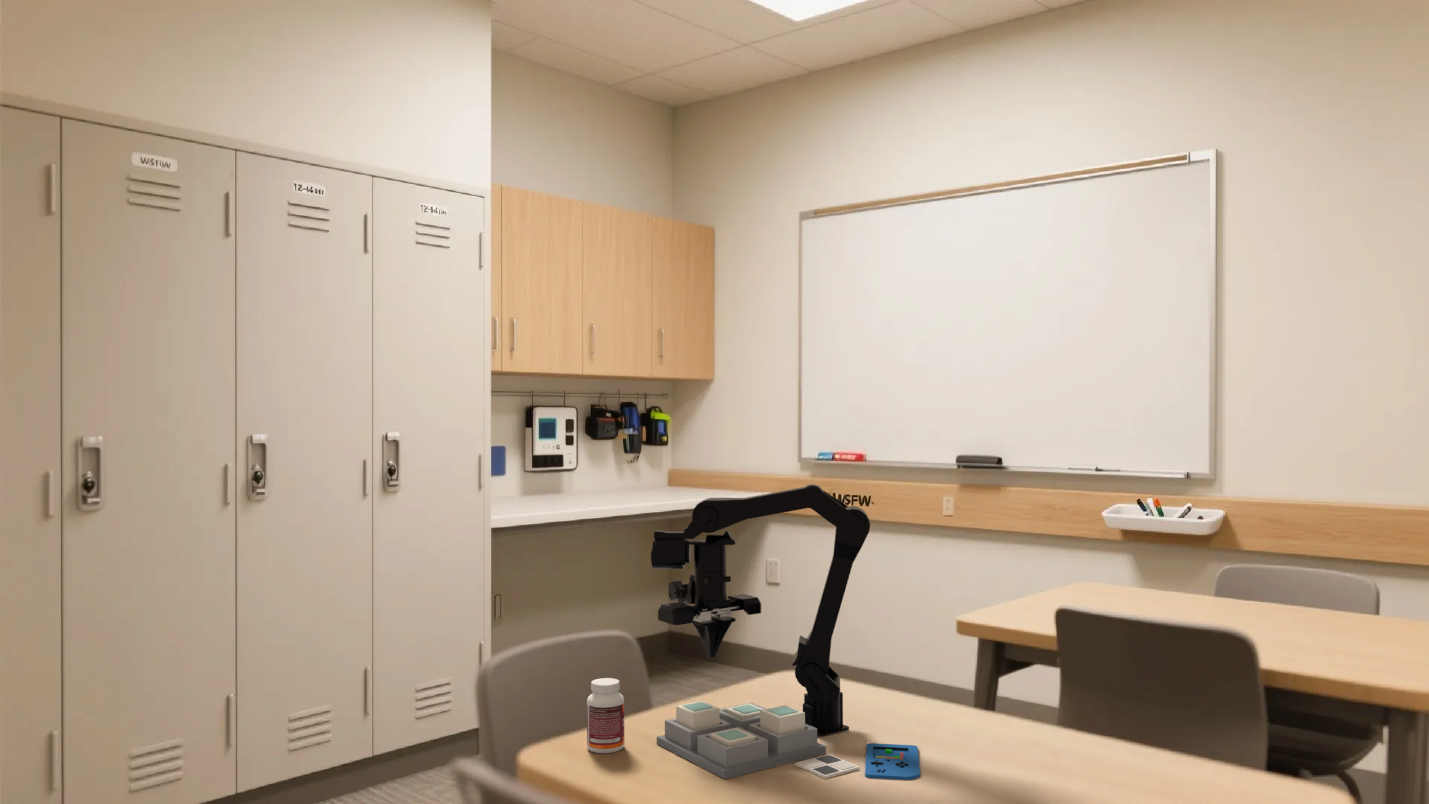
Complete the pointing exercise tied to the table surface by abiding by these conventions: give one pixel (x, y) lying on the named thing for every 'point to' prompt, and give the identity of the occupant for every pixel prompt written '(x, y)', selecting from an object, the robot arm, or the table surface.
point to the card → (827, 766)
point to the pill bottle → (605, 716)
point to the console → (739, 746)
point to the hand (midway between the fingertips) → (710, 657)
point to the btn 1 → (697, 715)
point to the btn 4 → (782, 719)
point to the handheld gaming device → (892, 761)
